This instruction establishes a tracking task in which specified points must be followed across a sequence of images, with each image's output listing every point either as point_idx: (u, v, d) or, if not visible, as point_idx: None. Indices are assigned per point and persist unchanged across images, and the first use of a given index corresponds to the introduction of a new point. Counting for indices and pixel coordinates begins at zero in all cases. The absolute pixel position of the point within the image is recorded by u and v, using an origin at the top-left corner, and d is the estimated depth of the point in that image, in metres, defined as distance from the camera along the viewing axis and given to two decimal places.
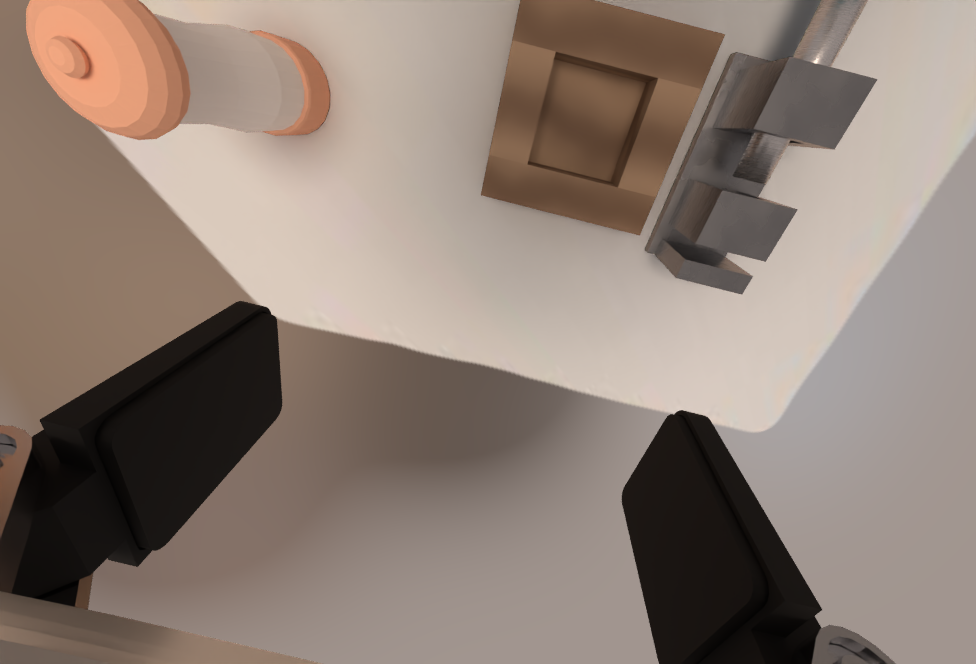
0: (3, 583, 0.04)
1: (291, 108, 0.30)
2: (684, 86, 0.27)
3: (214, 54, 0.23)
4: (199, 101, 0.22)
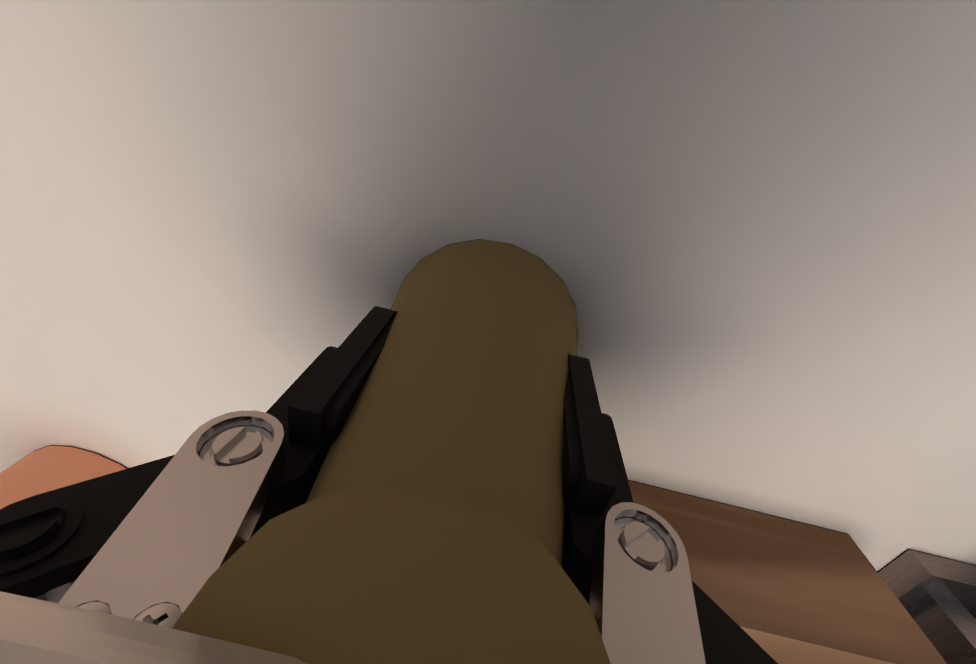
0: None
1: None
2: None
3: None
4: None
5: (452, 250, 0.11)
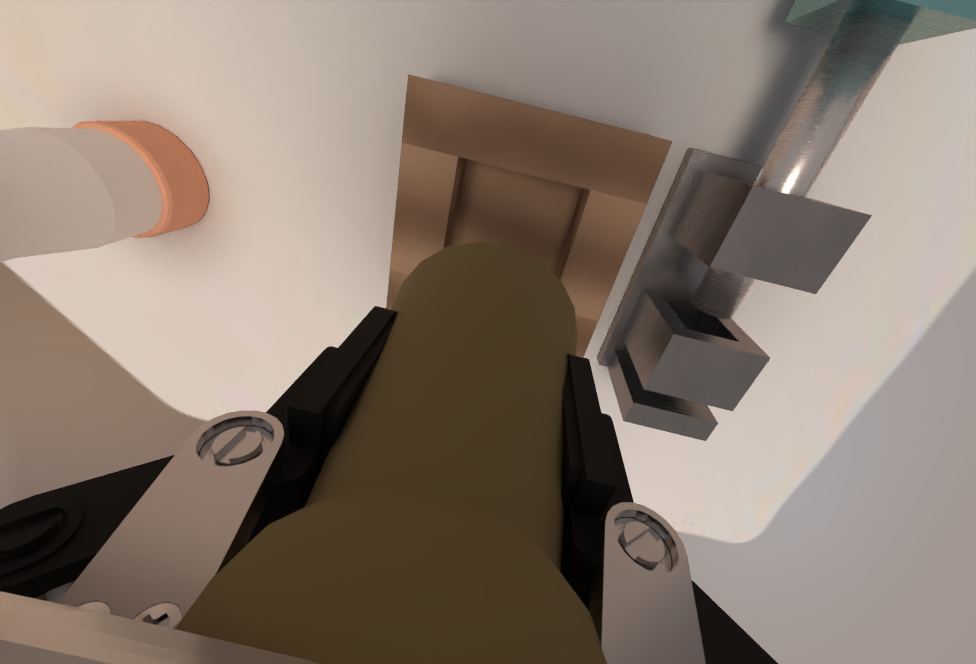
0: None
1: (139, 216, 0.24)
2: (624, 200, 0.21)
3: None
4: None
5: (451, 252, 0.11)
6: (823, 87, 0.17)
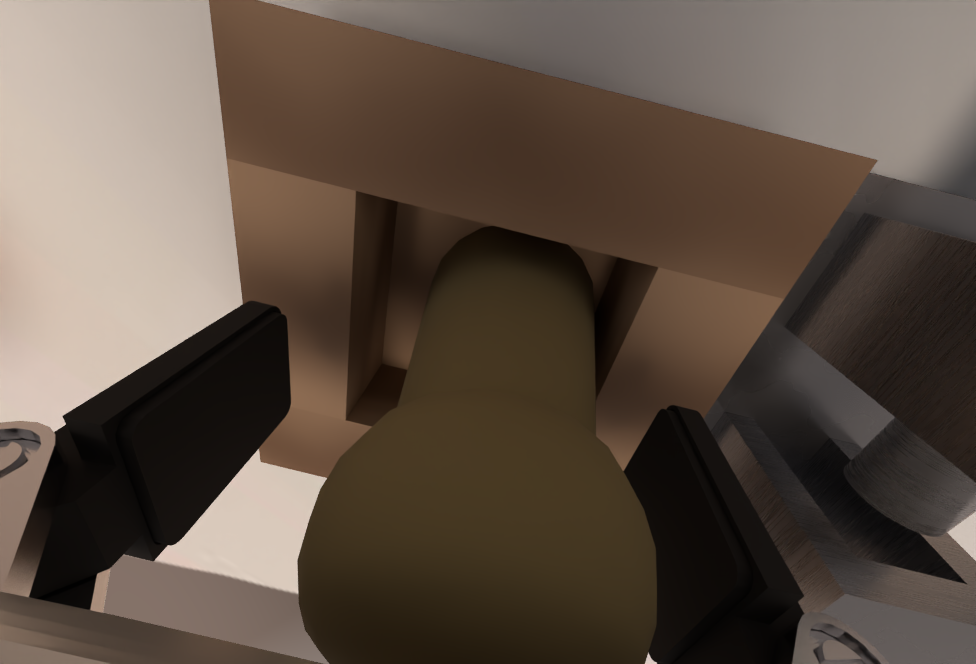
0: (24, 578, 0.04)
1: None
2: (733, 290, 0.09)
3: None
4: None
5: (487, 232, 0.12)
6: None
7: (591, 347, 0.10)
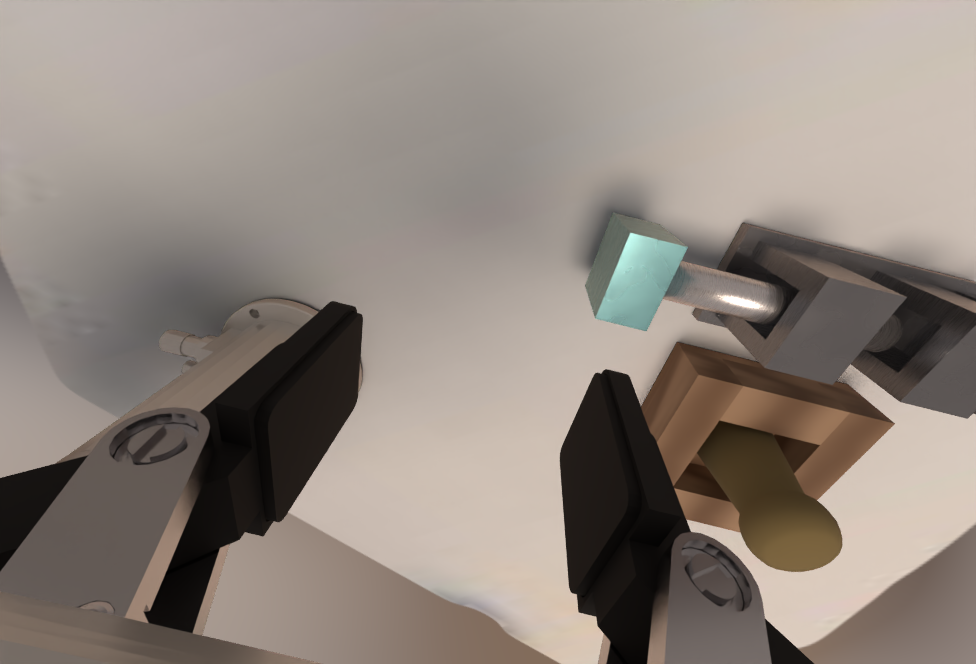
0: (162, 563, 0.04)
1: None
2: (735, 400, 0.27)
3: None
4: None
5: None
6: (692, 305, 0.22)
7: (746, 446, 0.27)
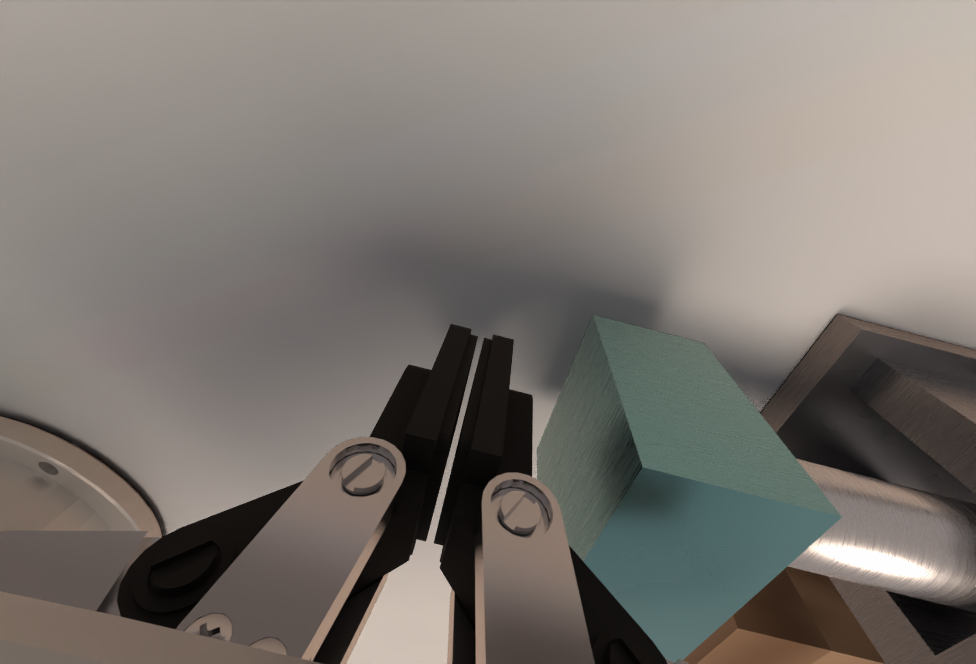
0: (334, 615, 0.04)
1: None
2: None
3: None
4: None
5: None
6: None
7: None
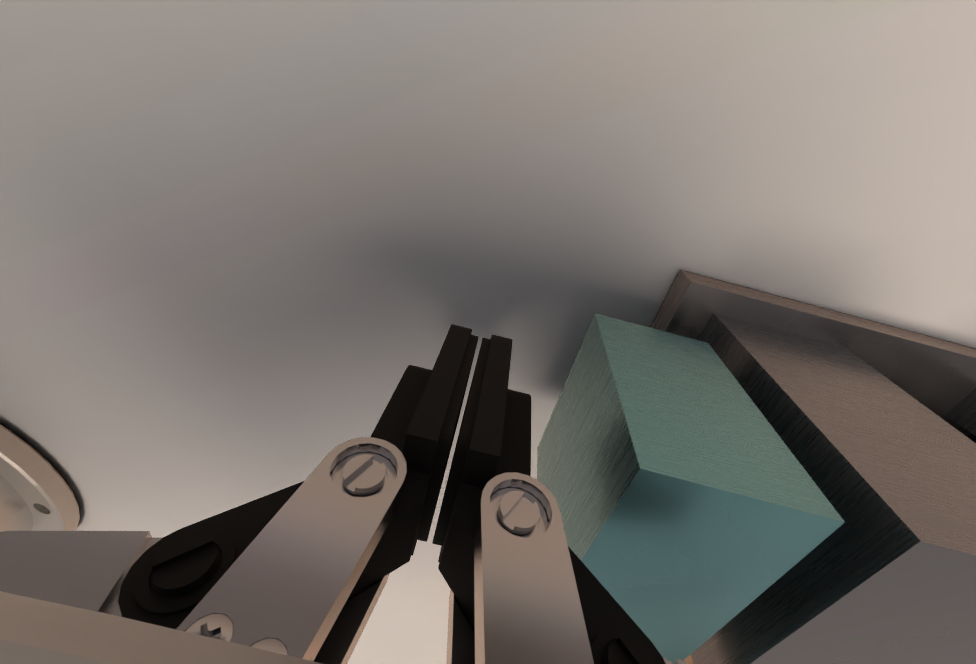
0: (334, 616, 0.04)
1: None
2: None
3: None
4: None
5: None
6: None
7: None
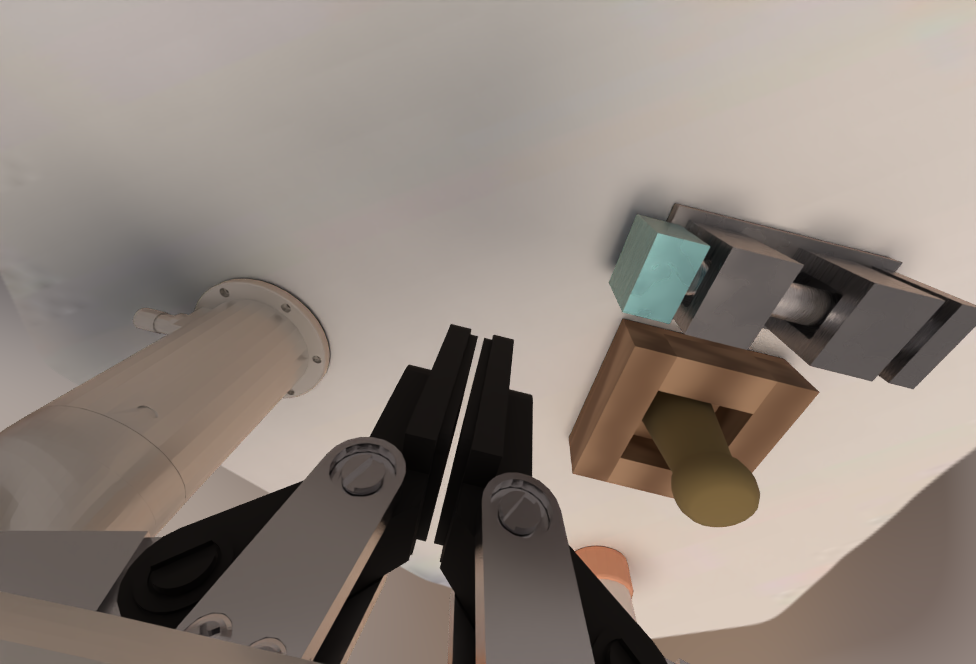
0: (334, 615, 0.04)
1: (623, 599, 0.42)
2: (671, 370, 0.28)
3: None
4: None
5: None
6: None
7: (682, 414, 0.29)
